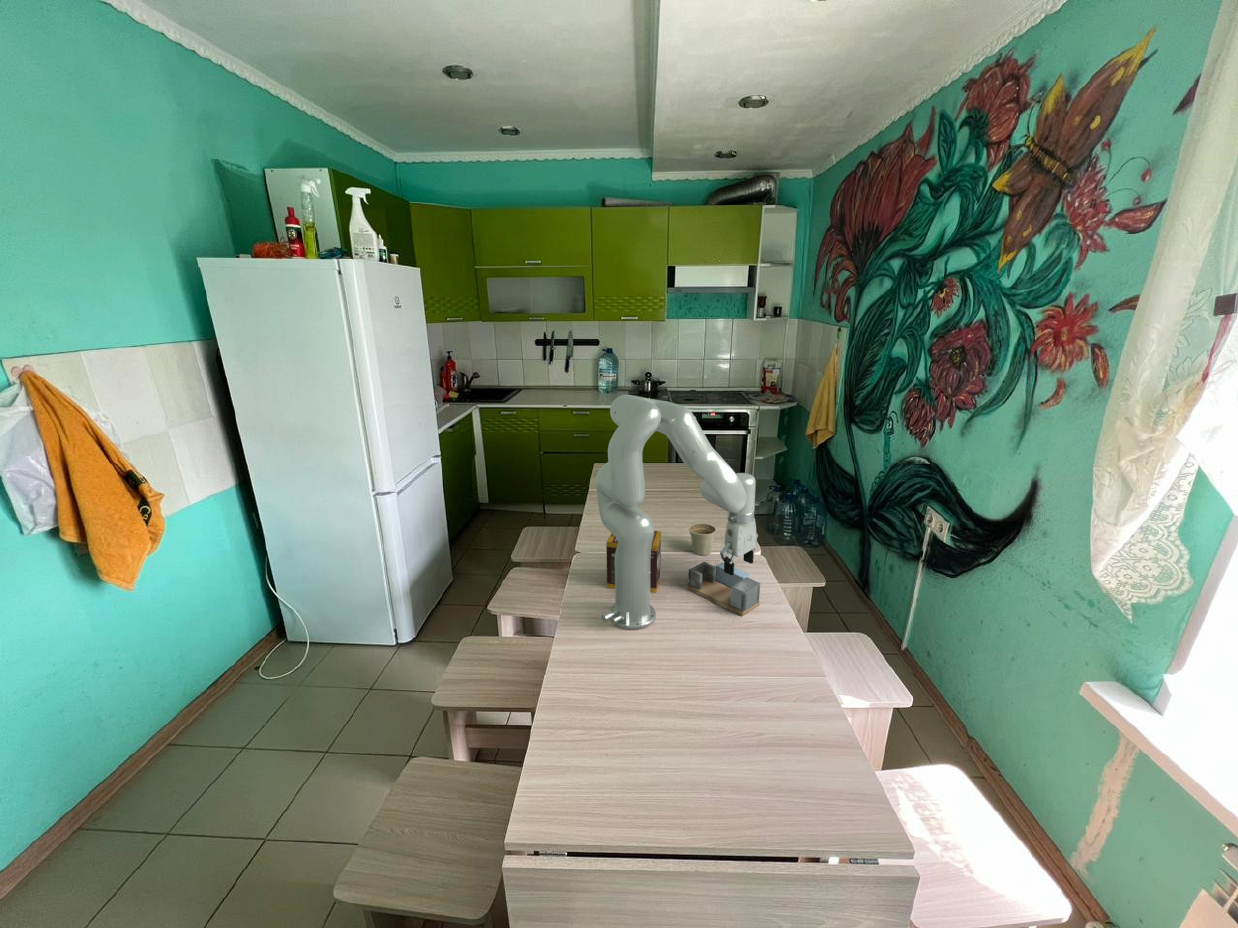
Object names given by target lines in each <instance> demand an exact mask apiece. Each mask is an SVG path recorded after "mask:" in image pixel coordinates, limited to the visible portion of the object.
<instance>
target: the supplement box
mask: <svg viewBox="0 0 1238 928" xmlns="http://www.w3.org/2000/svg"><path fill="white" fill-rule="evenodd" d="M605 543H606V547H605V548H606V588H607V589H613V590H615V552H616V549H617V546H618V539H617V537H616V536H614V535H613V534H612V533H611V532H610V535H609V537H608V538H607V541H606V542H605ZM661 548H662V531H660V530H654V536H653V541H652V546H651V558H650V594H651V593H652V594H654V593H655V594H657V593H658V588H659V583H660V581H661V560H662V559H661V557H662V556H661V554H662V553H661V552H662V549H661Z"/></svg>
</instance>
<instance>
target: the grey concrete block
mask: <svg viewBox="0 0 1238 928" xmlns="http://www.w3.org/2000/svg"><path fill="white" fill-rule="evenodd" d="M730 588H731V600H730V605H732V606H734V607H736V608H738V609H740V610H742V611H745V610H746V609H748V608H749V607H751V606H752V605H754V604H756V603H757V602H759V603H760V594H761V593H760V592H761V591H760V590H761V582H758V581H757V580H755V579H752V578H751V577H749V578H747V577H746V578H744V579H743V580H741V581H739V582H738V583H736V584H734V585H733V586H731V587H730Z"/></svg>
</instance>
